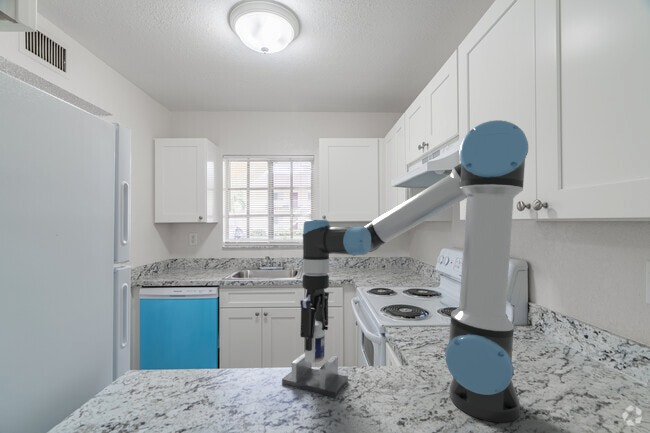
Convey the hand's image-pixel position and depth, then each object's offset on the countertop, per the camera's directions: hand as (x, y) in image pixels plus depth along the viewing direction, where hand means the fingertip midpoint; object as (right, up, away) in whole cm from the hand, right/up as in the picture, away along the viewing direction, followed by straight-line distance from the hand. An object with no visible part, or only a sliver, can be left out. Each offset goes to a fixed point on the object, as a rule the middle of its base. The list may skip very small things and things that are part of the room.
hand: (314, 357), depth 81 cm
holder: (0, -7, 0) cm, 7 cm away
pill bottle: (0, -1, 0) cm, 1 cm away
